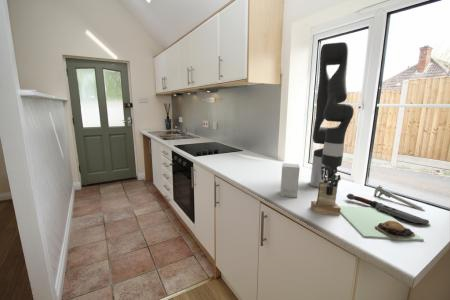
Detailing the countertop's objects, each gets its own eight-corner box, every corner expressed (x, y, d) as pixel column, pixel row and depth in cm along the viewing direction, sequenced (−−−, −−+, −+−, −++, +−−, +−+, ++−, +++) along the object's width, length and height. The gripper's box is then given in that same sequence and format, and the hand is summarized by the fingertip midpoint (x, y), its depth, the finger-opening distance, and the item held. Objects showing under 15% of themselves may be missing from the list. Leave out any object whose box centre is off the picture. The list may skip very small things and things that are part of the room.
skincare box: (296, 193, 114) (299, 164, 111) (297, 198, 108) (300, 167, 105) (279, 191, 116) (282, 162, 113) (279, 196, 110) (282, 165, 107)
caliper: (373, 196, 116) (375, 184, 115) (374, 195, 116) (376, 184, 115) (424, 212, 99) (427, 198, 98) (425, 211, 100) (428, 198, 99)
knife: (353, 191, 112) (431, 218, 88) (352, 195, 113) (430, 223, 89) (345, 193, 107) (425, 223, 83) (344, 198, 107) (423, 228, 84)
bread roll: (393, 240, 75) (395, 230, 74) (372, 227, 83) (373, 218, 82) (417, 237, 77) (420, 227, 77) (394, 224, 85) (396, 215, 85)
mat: (334, 206, 101) (334, 205, 100) (379, 209, 100) (379, 207, 100) (363, 237, 77) (363, 235, 77) (423, 241, 76) (423, 239, 76)
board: (316, 208, 97) (319, 182, 94) (332, 209, 96) (336, 183, 94) (317, 210, 95) (320, 183, 93) (334, 211, 95) (337, 184, 93)
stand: (310, 207, 99) (311, 200, 98) (333, 208, 99) (334, 202, 98) (315, 213, 93) (316, 206, 93) (339, 214, 93) (340, 208, 92)
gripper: (317, 149, 98) (312, 186, 101) (330, 156, 84) (324, 199, 88) (334, 150, 98) (329, 187, 101) (350, 157, 84) (344, 200, 87)
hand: (327, 192), depth 94 cm, fingers open, 3 cm apart
